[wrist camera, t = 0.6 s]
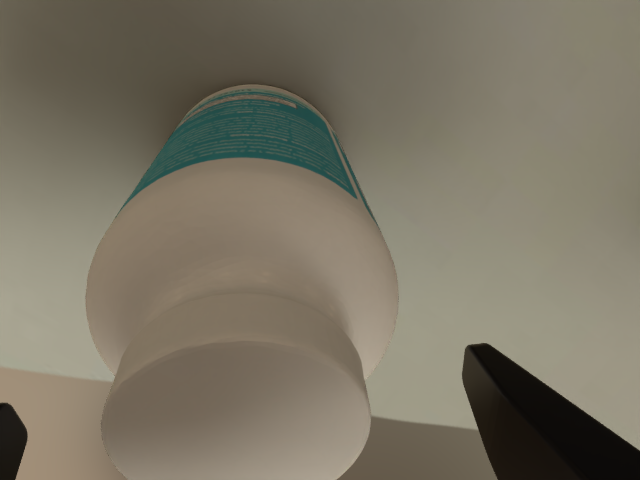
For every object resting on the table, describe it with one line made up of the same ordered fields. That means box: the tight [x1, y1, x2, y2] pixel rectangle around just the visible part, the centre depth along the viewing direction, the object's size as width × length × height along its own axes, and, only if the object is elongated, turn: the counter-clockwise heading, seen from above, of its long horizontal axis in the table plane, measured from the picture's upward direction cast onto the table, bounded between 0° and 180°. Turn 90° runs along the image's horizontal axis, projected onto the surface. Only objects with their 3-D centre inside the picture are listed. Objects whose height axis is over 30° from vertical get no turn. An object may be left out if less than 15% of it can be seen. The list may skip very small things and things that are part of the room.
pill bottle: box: [86, 84, 399, 480], centre depth 13 cm, size 8×7×14 cm
